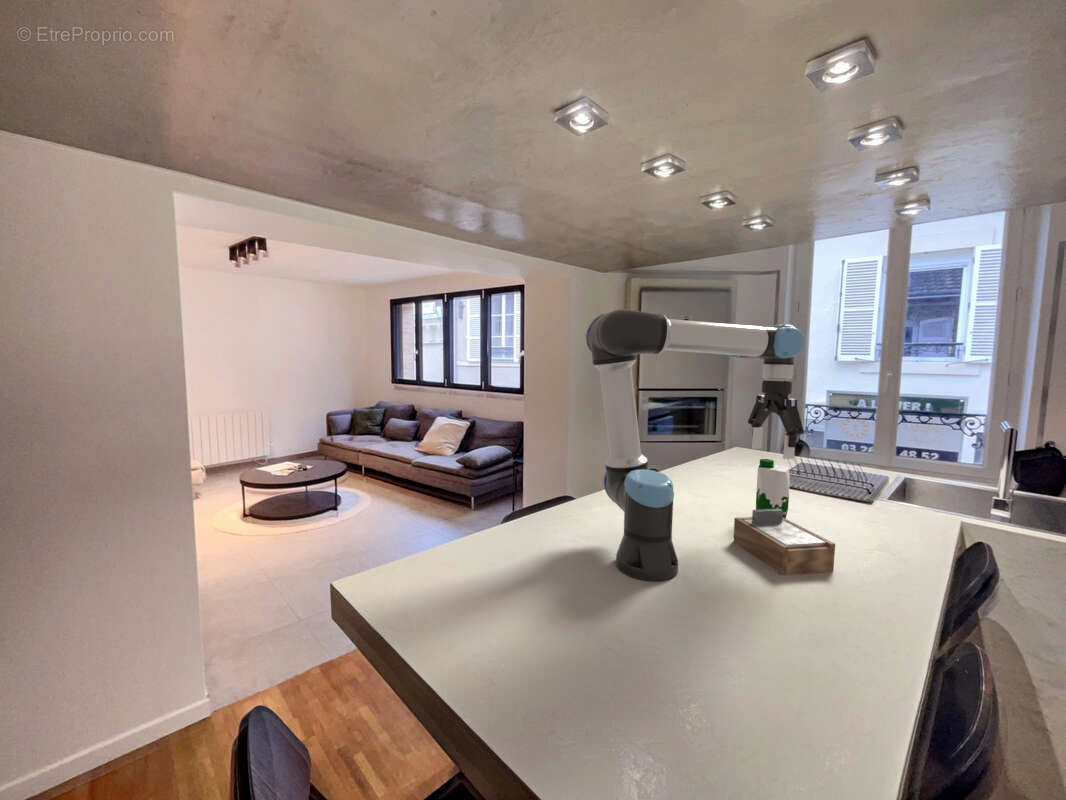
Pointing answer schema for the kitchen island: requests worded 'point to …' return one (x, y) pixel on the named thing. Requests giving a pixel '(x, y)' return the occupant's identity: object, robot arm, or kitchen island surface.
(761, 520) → the cover plate
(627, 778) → the kitchen island surface
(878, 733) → the kitchen island surface
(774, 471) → the milk carton
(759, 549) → the box
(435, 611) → the kitchen island surface
